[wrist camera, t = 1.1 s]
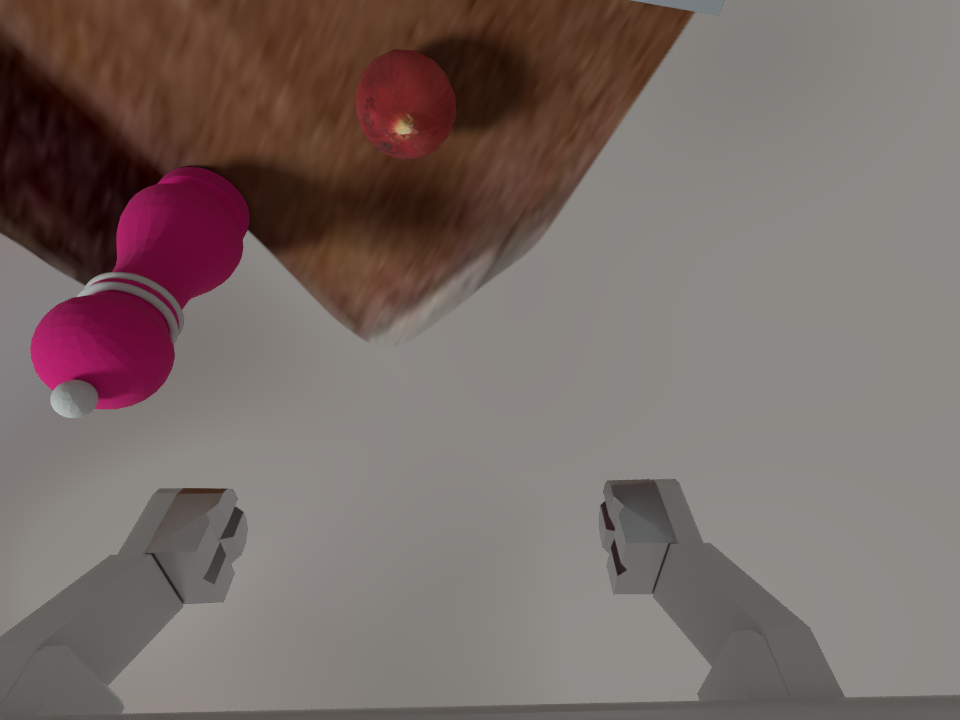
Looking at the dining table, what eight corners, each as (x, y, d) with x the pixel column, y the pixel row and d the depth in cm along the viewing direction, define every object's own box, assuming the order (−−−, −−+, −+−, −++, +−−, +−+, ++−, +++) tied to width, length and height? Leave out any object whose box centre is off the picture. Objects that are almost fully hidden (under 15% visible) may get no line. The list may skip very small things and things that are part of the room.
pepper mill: (127, 194, 38) (-68, 400, 24) (197, 137, 36) (30, 325, 21) (211, 267, 43) (91, 480, 28) (278, 220, 40) (187, 424, 26)
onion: (410, 151, 38) (406, 204, 32) (343, 86, 35) (324, 131, 29) (472, 89, 35) (479, 134, 29) (405, 12, 32) (398, 45, 26)
